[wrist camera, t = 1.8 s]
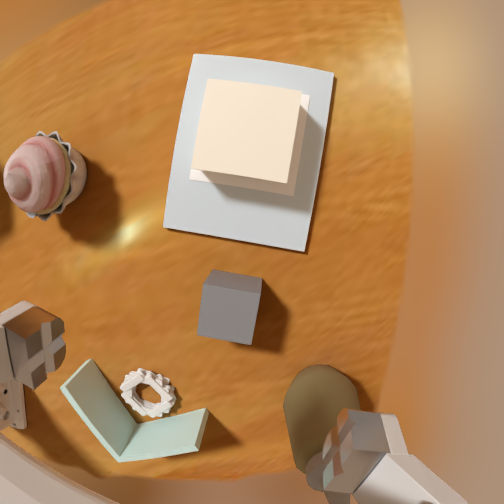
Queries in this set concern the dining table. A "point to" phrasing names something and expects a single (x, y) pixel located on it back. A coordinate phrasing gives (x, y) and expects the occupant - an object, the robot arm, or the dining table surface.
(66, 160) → the cupcake
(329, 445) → the robot arm
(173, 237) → the dining table surface
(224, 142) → the cream base block
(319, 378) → the squeeze bottle
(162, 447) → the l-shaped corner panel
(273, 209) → the light grey flat slab
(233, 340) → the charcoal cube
